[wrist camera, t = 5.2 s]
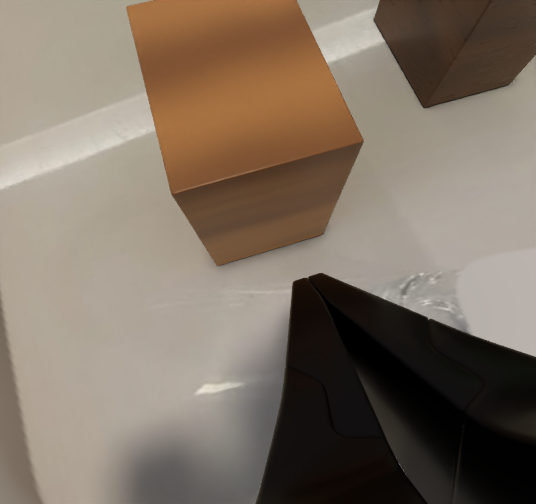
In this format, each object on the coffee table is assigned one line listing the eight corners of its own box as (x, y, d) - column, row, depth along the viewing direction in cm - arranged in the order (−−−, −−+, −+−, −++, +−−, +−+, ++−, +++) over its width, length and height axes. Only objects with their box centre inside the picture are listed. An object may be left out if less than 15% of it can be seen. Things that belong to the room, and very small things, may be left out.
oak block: (323, 234, 17) (364, 141, 10) (217, 266, 17) (171, 194, 9) (278, 119, 19) (282, -30, 12) (184, 144, 19) (125, 5, 11)
